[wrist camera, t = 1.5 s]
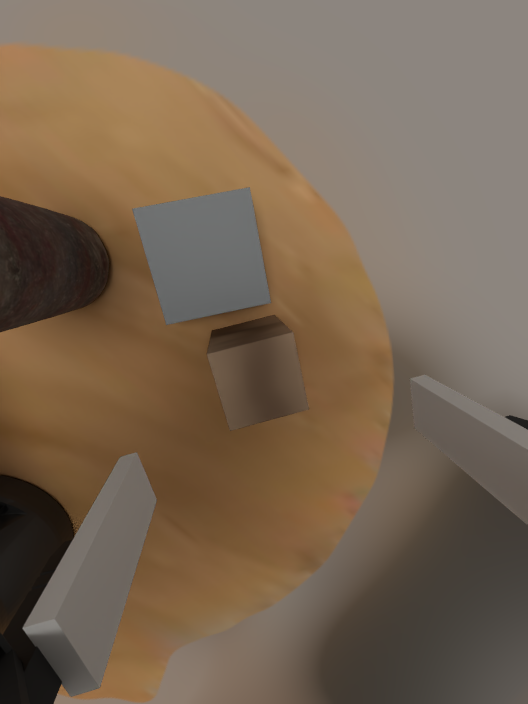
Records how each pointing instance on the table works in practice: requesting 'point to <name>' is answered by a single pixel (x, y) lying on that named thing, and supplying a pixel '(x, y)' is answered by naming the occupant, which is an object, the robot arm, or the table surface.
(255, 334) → the walnut block
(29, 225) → the candle
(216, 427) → the table surface
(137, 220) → the base block
